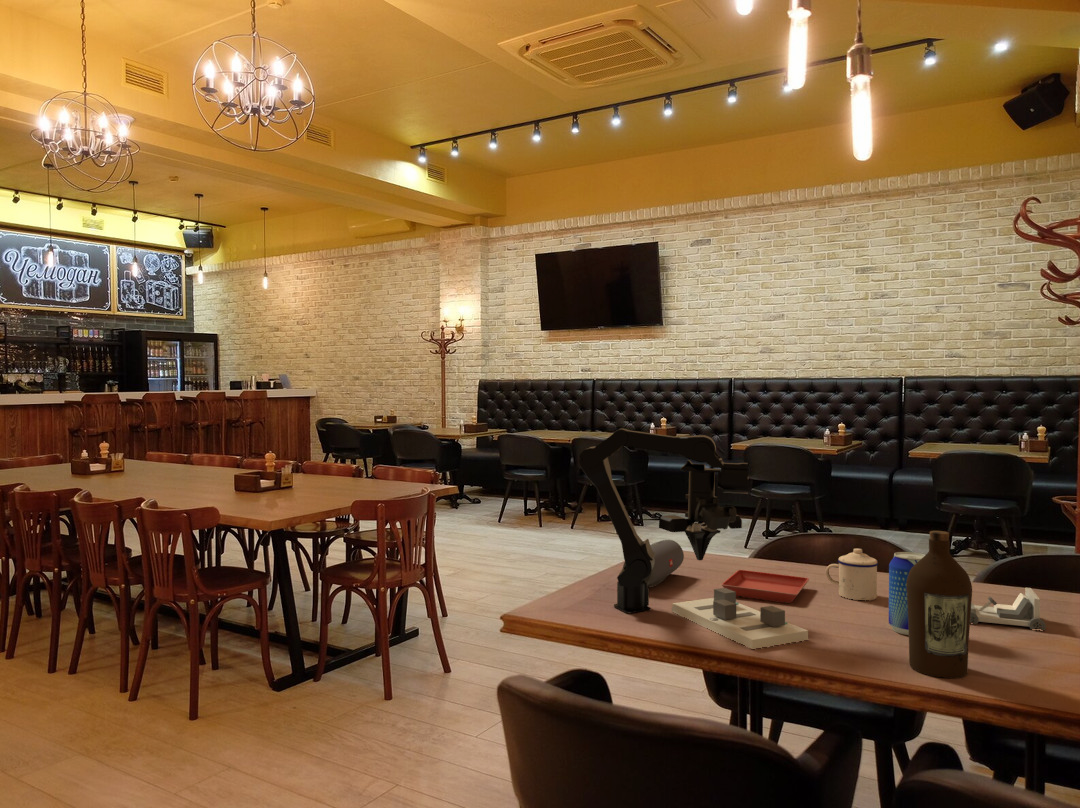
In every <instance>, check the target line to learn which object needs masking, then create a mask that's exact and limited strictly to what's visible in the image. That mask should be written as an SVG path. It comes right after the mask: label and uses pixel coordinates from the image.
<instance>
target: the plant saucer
mask: <svg viewBox="0 0 1080 808" xmlns="http://www.w3.org/2000/svg"><path fill="white" fill-rule="evenodd" d="M809 581H810V578H808V577H804V576H797V575H796V576H794V575H793V576H792V575H787V574H779V573H771V572H762V571H755V570H746V569H737V570H736V571H735V572H734V573H732V575H730V576H729V577H728V578H727V579H725V580H724V581H723V582H722V583H721V586H722V588H727V589H729V590H732V591H735V592H736V597H737V596H742V597H741V598H745V597H748V598H747V599H753V598H756V599H755V600H760V599H762V600H763V601H768V600H769V602H776V601H778V603H784V602H787V603H786V604H792V603H793V601H795V599H796V598H797V597H798V595H799V593H801V591H802V590H803V589H804V588H805V586H806V585H807V583H808V582H809ZM762 600H761V601H762Z"/></svg>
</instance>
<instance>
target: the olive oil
mask: <svg viewBox="0 0 1080 808" xmlns="http://www.w3.org/2000/svg"><path fill="white" fill-rule="evenodd" d="M949 537H950V533H949V532H948V531H944V530H943V531H942V530H930V531H929V538H928V552H927V553H926V554H924V555H925V556H924V557H923V558H922V559H921V560H919V561H918V562H917V563H916V564H915V565H914V566H913V567H912V568H911V570H910V571H909V574H908V577H907V582H906V586H907V605H908V628H909V635H908V657H909V659H908V660H909V667H910V668H911V669H913V670H914V671H915V672H918V673H919V674H924V675H926V674H927V676H929V677H935V676H936V678H941V677H944V678H943V679H957V677H959V678H962V676H963V677H965V676H967V674H968V669H969V667H968V665H969V642H970V627H971V624H970V615H971V603H972V600H973V584H972V581H971V578H970V576H969V574H968V572H967V571H966V570H965V568H963V566H962V565H960V563H958V561H957V560H956V559H955V558H954V557H953V556H952V554H951V553H950V550H951V549H950V547H951V546H950V544H951V541H950V539H949Z"/></svg>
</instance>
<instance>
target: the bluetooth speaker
mask: <svg viewBox="0 0 1080 808" xmlns="http://www.w3.org/2000/svg"><path fill="white" fill-rule="evenodd" d="M650 546H651V549H652V550H653V552H654V553H655V556H654V559H655V563H654V566H653V569H652V571H651V573H650V575H649V576H648V577H646V578H644V579H643V581H646V582H647V587H648V588H653V587H656V586H657V584H658V585H659V584H661V583H663V582H664V581H665V580H666V578H667V577H668V576H669V575H671V574H673V572H675V571H676V570H678V568H680V567H681V565H682V564H683V563H684V558H685V556H684V555H685V554H684V551H683V548H682V547H681V544H679V543H678V541H675V540H673V539H663V540H659V541H656V542H654V543H652V544H651V543H650ZM625 566H626V564H625V561H624V562H623V565H622V569H623V568H624V567H625ZM655 585H656V586H655ZM652 586H653V587H652Z"/></svg>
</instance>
